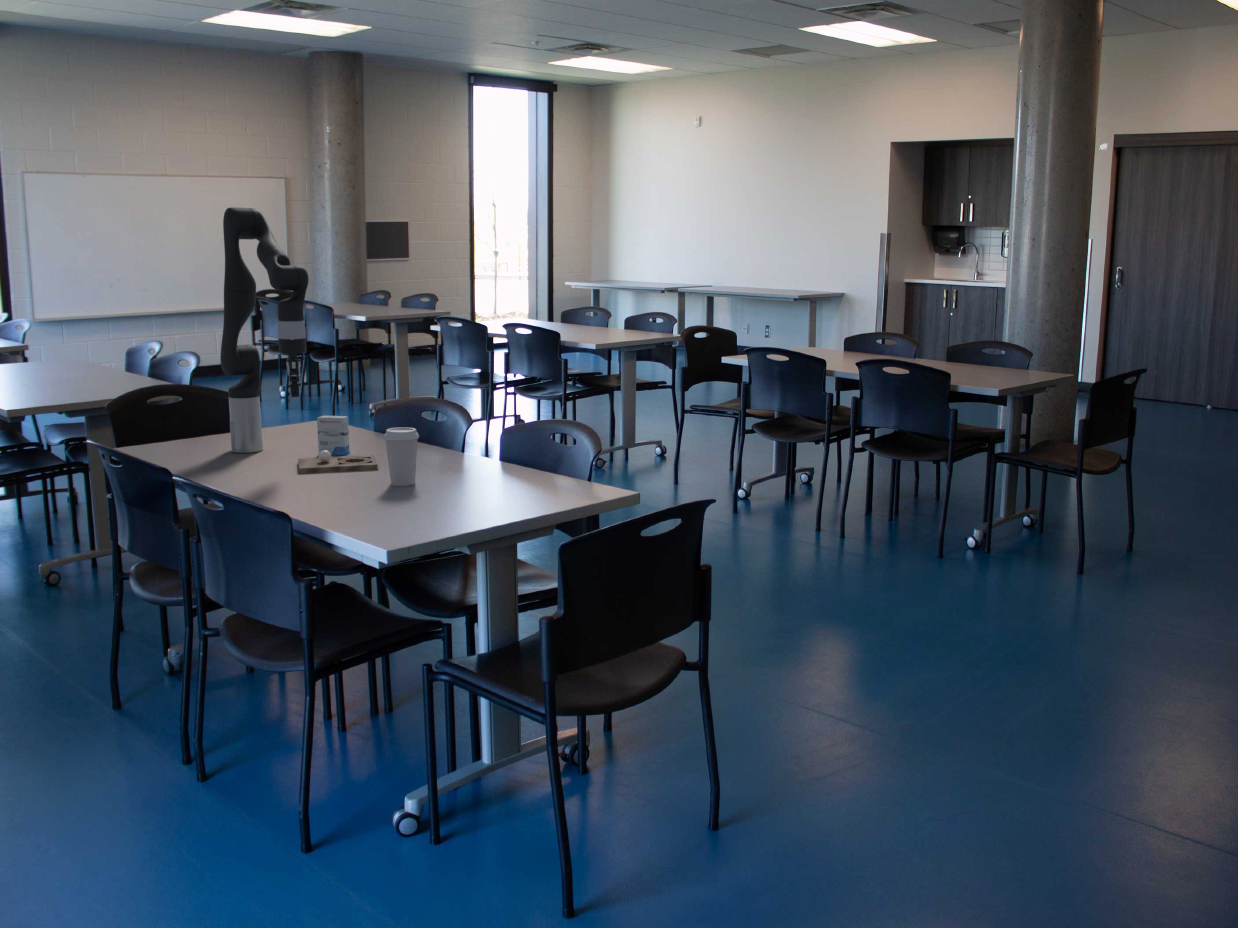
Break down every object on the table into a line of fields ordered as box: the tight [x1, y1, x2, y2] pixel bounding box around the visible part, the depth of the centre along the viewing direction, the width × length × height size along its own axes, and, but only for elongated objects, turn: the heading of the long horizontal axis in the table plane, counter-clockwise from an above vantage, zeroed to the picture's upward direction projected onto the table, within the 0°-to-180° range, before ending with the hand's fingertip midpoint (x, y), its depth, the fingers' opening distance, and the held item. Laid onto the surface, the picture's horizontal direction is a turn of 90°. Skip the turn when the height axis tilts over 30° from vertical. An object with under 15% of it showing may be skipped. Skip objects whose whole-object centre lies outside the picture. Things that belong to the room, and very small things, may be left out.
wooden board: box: [297, 454, 379, 474], centre depth 320 cm, size 22×15×2 cm
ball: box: [318, 450, 332, 462], centre depth 319 cm, size 4×4×4 cm
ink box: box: [316, 415, 350, 456], centre depth 338 cm, size 8×5×12 cm, turn 84°
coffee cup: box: [383, 426, 420, 487], centre depth 297 cm, size 10×10×15 cm
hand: (295, 394), depth 313 cm, fingers open, 6 cm apart
